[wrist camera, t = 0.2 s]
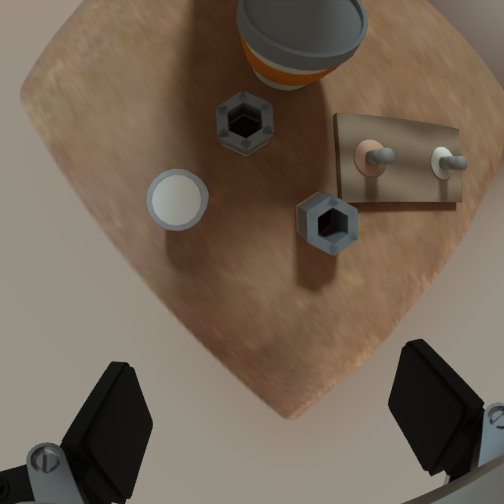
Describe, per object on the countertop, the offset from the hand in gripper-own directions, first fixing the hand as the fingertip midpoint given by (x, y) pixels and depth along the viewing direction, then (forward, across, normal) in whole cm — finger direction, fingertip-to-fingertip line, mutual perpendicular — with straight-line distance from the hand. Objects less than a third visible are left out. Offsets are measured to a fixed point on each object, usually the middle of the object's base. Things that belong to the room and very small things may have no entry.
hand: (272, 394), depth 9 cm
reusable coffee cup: (+30, -6, -24) cm, 39 cm away
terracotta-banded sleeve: (+30, -9, -2) cm, 32 cm away
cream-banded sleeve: (+30, 0, -14) cm, 33 cm away
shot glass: (+31, +8, -6) cm, 32 cm away
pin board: (+30, -23, -10) cm, 39 cm away
